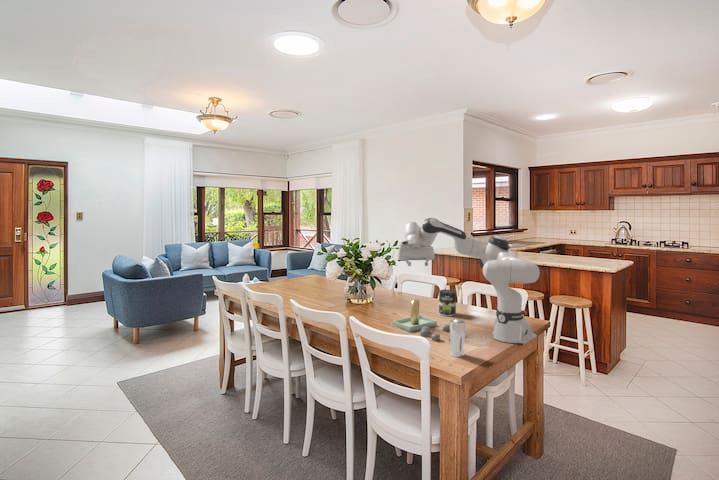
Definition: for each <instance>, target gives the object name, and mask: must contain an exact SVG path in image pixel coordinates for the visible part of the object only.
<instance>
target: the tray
mask: <svg viewBox="0 0 719 480" xmlns="http://www.w3.org/2000/svg"><path fill="white" fill-rule="evenodd" d="M424 326H427V327H430V328H431V327H437V326H438V321H437V320H435V319H433V318H430V317H426V316H423V315H420V314H419V325H411V316H410V317H404V318H399V319H394V320H392V327H395V328H398V329H400V330H403V331H405V332H408V333H412V332H415V331H420V330H422V327H424Z"/></svg>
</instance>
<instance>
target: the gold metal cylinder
mask: <svg viewBox="0 0 719 480" xmlns="http://www.w3.org/2000/svg"><path fill="white" fill-rule="evenodd" d="M419 315H420V300H419V299H412V300H411V301H410V317H411V325H419Z"/></svg>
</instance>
